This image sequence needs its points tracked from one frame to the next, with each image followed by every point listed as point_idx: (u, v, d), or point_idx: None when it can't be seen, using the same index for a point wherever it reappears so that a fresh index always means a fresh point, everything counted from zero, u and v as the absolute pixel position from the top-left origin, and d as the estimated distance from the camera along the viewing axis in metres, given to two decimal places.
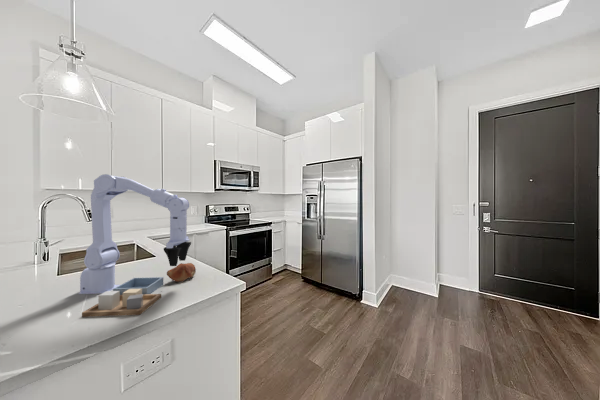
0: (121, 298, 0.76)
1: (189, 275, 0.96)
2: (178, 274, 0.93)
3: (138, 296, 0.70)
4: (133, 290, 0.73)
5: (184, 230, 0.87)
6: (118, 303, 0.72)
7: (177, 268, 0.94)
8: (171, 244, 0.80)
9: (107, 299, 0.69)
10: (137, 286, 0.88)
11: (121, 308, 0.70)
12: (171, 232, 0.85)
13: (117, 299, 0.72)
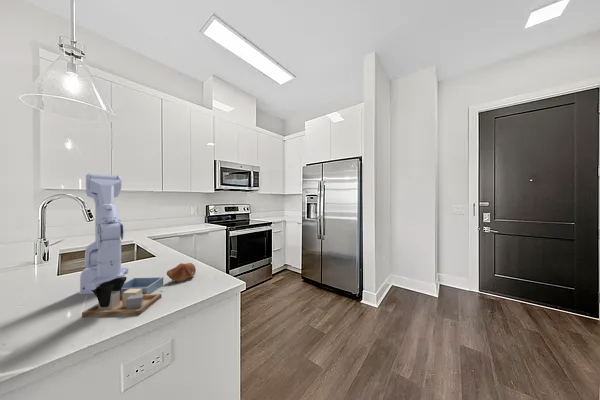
0: (121, 298, 0.76)
1: (189, 275, 0.96)
2: (178, 274, 0.93)
3: (138, 296, 0.70)
4: (133, 290, 0.73)
5: (116, 264, 0.70)
6: (118, 303, 0.72)
7: (177, 268, 0.94)
8: (93, 284, 0.64)
9: None
10: (137, 286, 0.88)
11: (121, 308, 0.70)
12: (98, 267, 0.68)
13: (117, 299, 0.72)
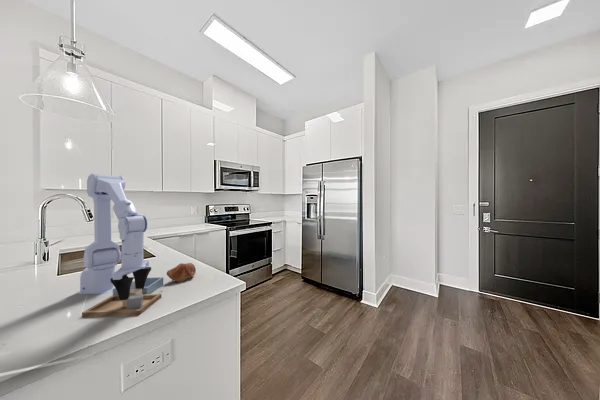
0: None
1: (189, 275, 0.96)
2: (178, 274, 0.93)
3: (138, 296, 0.70)
4: (133, 290, 0.73)
5: (139, 255, 0.72)
6: None
7: (177, 268, 0.94)
8: (119, 274, 0.66)
9: None
10: None
11: (121, 308, 0.70)
12: (122, 258, 0.70)
13: None
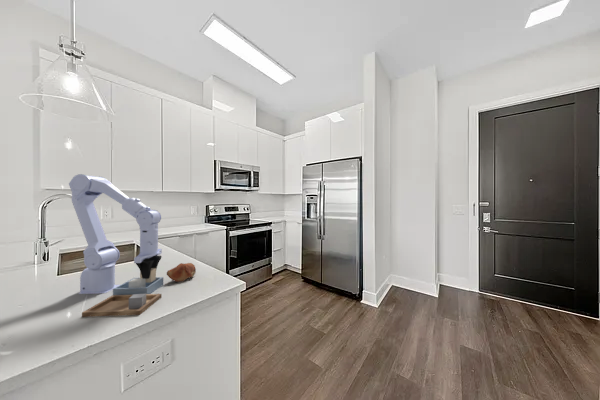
0: (121, 298, 0.76)
1: (189, 275, 0.96)
2: (178, 274, 0.93)
3: (140, 296, 0.70)
4: None
5: (155, 243, 0.85)
6: None
7: (177, 268, 0.94)
8: (139, 259, 0.79)
9: (136, 285, 0.81)
10: None
11: (121, 308, 0.70)
12: (141, 246, 0.84)
13: (144, 285, 0.83)
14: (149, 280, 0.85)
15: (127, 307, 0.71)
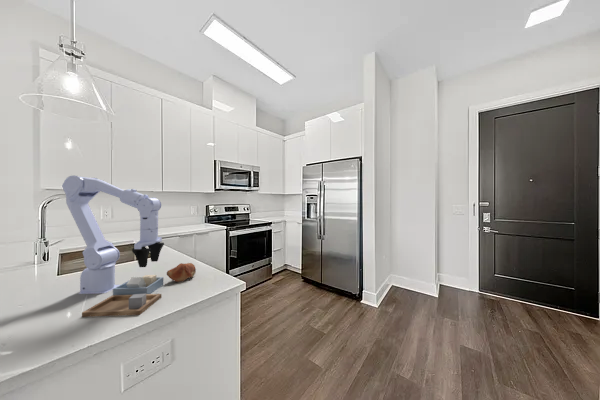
0: (121, 298, 0.76)
1: (189, 275, 0.96)
2: (178, 274, 0.93)
3: (140, 296, 0.70)
4: (149, 276, 0.86)
5: (155, 231, 0.85)
6: (145, 285, 0.84)
7: (177, 268, 0.94)
8: (139, 245, 0.79)
9: (134, 286, 0.80)
10: None
11: (121, 308, 0.70)
12: (141, 233, 0.84)
13: (143, 283, 0.83)
14: None
15: (127, 307, 0.71)
